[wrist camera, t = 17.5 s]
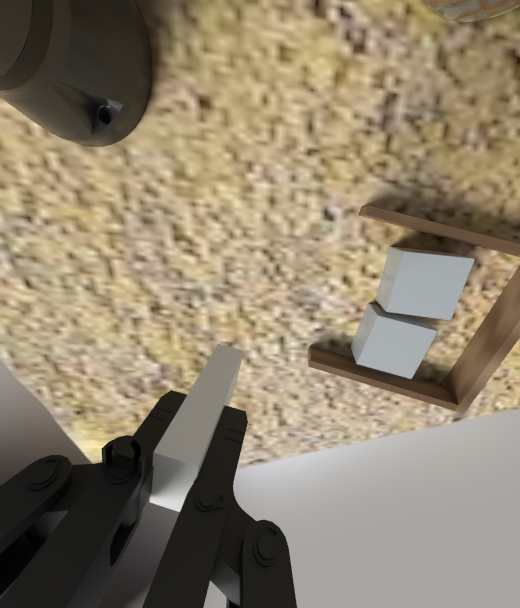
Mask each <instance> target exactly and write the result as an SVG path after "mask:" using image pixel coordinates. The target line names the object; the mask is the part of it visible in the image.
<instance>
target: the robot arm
mask: <svg viewBox="0 0 520 608" xmlns="http://www.w3.org/2000/svg"><path fill="white" fill-rule="evenodd" d="M151 76H152V60H151V50H150V43H149V38H148V34H147V30H146V26H145V23H144V20H143V17H142V15H141V12H140V10H139V8H138V6H137V4H136V2H135V0H0V98H2V99H3V100H5V101H6V102H7V103H9V104H10V105H12V106H13V107H14V108H16V109H17V110H18V111H20V112H21V113H23V114H24V115H25V116H27V117H28V118H30V119H31V120H32V121H34V122H35V123H37V124H38V125H39V126H41V127H42V128H44V129H45V130H47V131H48V132H50V133H52V134H54V135H56V136H58V137H60V138H63V139H65V140H68V141H72V142H75V143H78V144H81V145H84V146H90V147H102V146H107V145H111V144H113V143H116V142H118V141H119V140H121V139H123V138H124V137H125V136H126V135H127V134H129V133H130V132H131V130H132V129H133V128H134V127H135V125H136V124H137V123H138V121H139V119H140V118H141V116H142V114H143V111H144V109H145V106H146V103H147V100H148V96H149V92H150V86H151ZM243 352H244V351H242V350H238V349H235V348H231V347H227V346H224V345H220V344H218V345H217V347H216V348H215V350H214V352H213V353H212V355H211V357H210V358H209V360H208V362H207V363H206V365H205V367H204V368H203V370H202V372H201V373H200V375H199V377H198V378H197V380H196V382H195V383H194V385H193V387H192V388H191V390H190V392H189V393H188V395H186V394H183V393H179V392H176V391H172V390H171V391H170V392H168V393H167V394H165V395H164V396H162V397H161V398H160V399H159V401H158V402H157V404H156V405H155V406H154V409H152V410H151V412H150V413H149V415H148V417H146V419H145V420H144V421H143V423H142V424H141V426H140V427H139V428H138V430H137V431H136V432H135V434H134V435H133V436H129V435H126V436H122V437H118V438H116V439H114V440H112V441H110V442H108V443H107V444H106V445H105V446H104V447H103V448H102V462H101V463H96V464H83V465H71V462H70V461H69V460H68V458H66V457H64V456H61V455H51V456H47V457H44V458H41V459H39V460H37V461H35V462H33V463H32V464H30V465H28V466H27V467H26V468H24V469H23V470H22V471H20V472H19V473H18V474H16V475H15V476H13V477H12V478H11V479H9V480H8V481H6V482H5V483H4V484H2V485H1V486H0V608H97V606H98V604H99V602H100V600H101V598H102V596H103V594H104V592H105V591H106V589H107V586H108V585H109V583H110V581H111V579H112V577H113V575H114V573H115V571H116V568H117V567H118V565H119V563H120V561H121V559H122V557H123V555H124V553H125V551H126V549H127V547H128V545H129V543H130V541H131V539H132V537H133V535H134V533H135V531H136V529H137V527H138V525H139V523H140V520H141V517H142V512H143V508H144V506H145V504H146V502H147V500H148V498H149V496H150V502H151V503H154V504H157V505H160V506H163V507H166V508H170V509H172V510H176V511H179V512H180V513H179V516H178V518H177V521H176V523H175V526H174V528H173V531H172V533H171V536H170V539H169V541H168V543H167V546H166V549H165V551H164V554H163V556H162V559H161V561H160V564H159V566H158V569H157V571H156V574H155V576H154V579H153V581H152V584H151V586H150V589H149V592H148V594H147V597H146V599H145V602H144V604H143V607H142V608H203V606H204V602H205V598H206V594H207V589H208V586H209V582H210V580H211V581H212V582H213V583H214V584H215V585H216V586H217V587H218V588H219V589H220V590H221V592H223V594H225V595H226V596H227V604H226V605H227V606H226V608H297V605H296V598H295V591H294V584H293V577H292V569H291V562H290V555H289V548H288V545H287V541H286V538H285V536H284V534H283V533H282V531H281V529H280V528H279V527H278V526H277V525H275V524H274V523H273V522H271V521H267V520H260V521H255V520H254V519H253V518H252V517H250V516H249V515H248V514H247V513H246V512H244V511H243V510H242V509H241V507H240V506H239V505H238V503H237V501H236V499H235V496H234V492H233V481H234V477H235V473H236V469H237V464H238V460H239V456H240V452H241V448H242V444H243V440H244V436H245V431H246V427H247V423H248V421H247V416H246V411H242V410H239V409H236V408H232V407H229V403H230V401H231V398H232V395H233V392H234V389H235V386H236V382H237V377H238V373H239V369H240V365H241V360H242V356H243Z"/></svg>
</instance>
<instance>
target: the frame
mask: <svg viewBox="0 0 520 608" xmlns="http://www.w3.org/2000/svg"><path fill="white" fill-rule="evenodd" d="M359 215H360V216H364V217H368V218H372V219H375V220H379V221H383V222H387V223H391V224H395V225H399V226H402V227H406V228H410V229H414V230H418V231H422V232H426V233H429V234H433V235H437V236H441V237H445V238H449V239H453V240H456V241H460V242H464V243H468V244H472V245H476V246H480V247H483V248H487V249H491V250H495V251H499V252H503V253H507V254H510V255H514V256H518V257H520V244H518V243H514V242H510V241H507V240H503V239H499V238H495V237H491V236H487V235H483V234H479V233H475V232H471V231H467V230H463V229H460V228H456V227H452V226H448V225H444V224H440V223H436V222H432V221H428V220H424V219H420V218H417V217H413V216H409V215H405V214H401V213H397V212H393V211H389V210H385V209H381V208H377V207H374V206H365V207H361V210H360V213H359ZM519 338H520V266H519V268H518V269H517V271H516V272H515V274H514V275H513V277H512V278H511V280H510V281H509V283H508V284H507V286H506V288H505V289H504V291H503V292H502V294H501V295H500V297H499V298H498V300H497V301H496V303H495V304H494V306H493V307H492V309H491V310H490V312H489V313H488V315H487V316H486V318H485V320H484V321H483V323H482V324H481V326H480V327H479V329H478V330H477V332H476V333H475V335H474V336H473V338H472V339H471V341H470V342H469V344H468V345H467V347H466V348H465V350H464V352H463V353H462V355H461V356H460V358H459V359H458V361H457V362H456V364H455V365H454V367H453V368H452V370H451V371H450V373H449V374H448V376H447V377H446V379H445V380H444V382H443V384H442V385H440V384H437V383H433V382H430V381H427V380H423V379H420V378H417V377H412V379H409V378H406V377H402V376H398V375H395V374H391V373H388V372H384V371H380V370H377V369H373V368H369V367H366V366H362V365H359V364H356V361H355V359H353V358H349V357H346V356H343V355H339V354H336V353H332V352H329V351H326V350H322V349H319V348H316V347H312V346H310V347H309V349H308V363H309V367H312V368H315V369H319V370H322V371H325V372H329V373H332V374H335V375H338V376H342V377H345V378H348V379H352V380H355V381H358V382H362V383H365V384H368V385H371V386H375V387H378V388H381V389H385V390H388V391H391V392H395V393H398V394H401V395H404V396H408V397H411V398H414V399H418V400H421V401H424V402H428V403H431V404H434V405H438V406H441V407H444V408H447V409H451V410H454V411H457V412H461V413H464V412H465V411H466V410H467V408H468V407H469V406H470V404H471V403H472V402H473V400H474V399H475V398H476V396H477V395H478V394H479V392H480V391H481V389H482V388H483V387H484V385H485V384H486V383H487V381H488V380H489V379H490V377H491V376H492V375H493V373H494V372H495V371H496V369H497V368H498V367H499V365H500V364H501V362H502V361H503V360H504V358H505V357H506V356H507V354H508V353H509V352H510V350H511V349H512V348H513V346H514V345H515V344H516V342H517V341H518V339H519Z"/></svg>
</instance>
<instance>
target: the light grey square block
mask: <svg viewBox="0 0 520 608" xmlns="http://www.w3.org/2000/svg"><path fill="white" fill-rule="evenodd" d="M474 260H475V259H474V258H470V257H466V256H462V255H458V254H454V253H448V252H438V251H428V250H418V249H409V248H399V247H389V251H388V255H387V258H386V262H385V266H384V269H383V273H382V277H381V281H380V284H379V288H378V292H377V296H376V299H375V300H376V301H377V302H378V303H379V304H380V305H381V306H382V308H383V309H384V310H385V311H386V312H392V313H399V314H407V315H414V316H422V317H430V318H437V319H445V320H451V318H452V315H453V313H454V310H455V308H456V305H457V303H458V300H459V298H460V295H461V293H462V290H463V288H464V285H465V283H466V280H467V278H468V275H469V273H470V270H471V268H472V265H473V263H474Z"/></svg>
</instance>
